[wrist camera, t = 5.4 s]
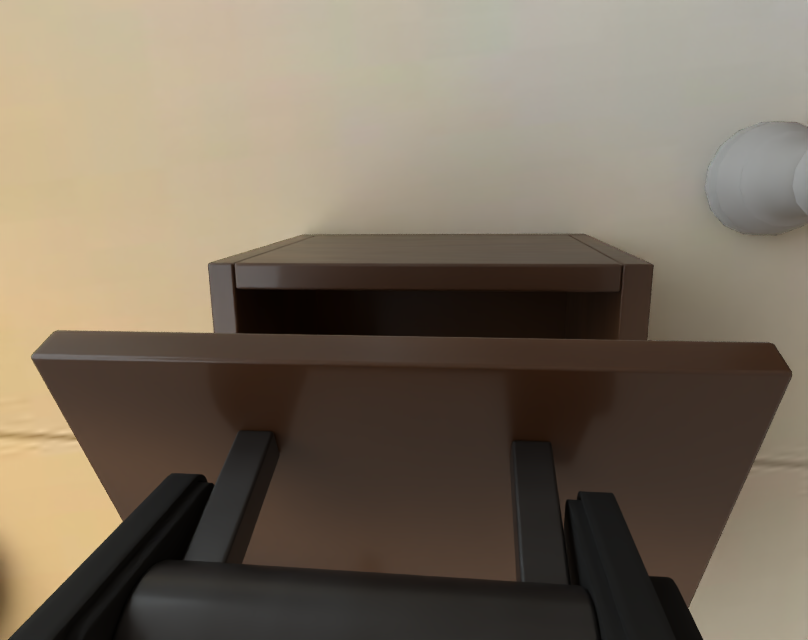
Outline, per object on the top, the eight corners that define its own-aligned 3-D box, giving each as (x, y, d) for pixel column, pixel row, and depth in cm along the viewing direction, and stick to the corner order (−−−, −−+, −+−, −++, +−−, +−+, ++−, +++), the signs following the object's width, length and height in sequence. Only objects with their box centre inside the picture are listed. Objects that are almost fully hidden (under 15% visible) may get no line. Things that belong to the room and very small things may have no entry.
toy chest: (301, 234, 27) (206, 263, 17) (585, 233, 25) (654, 264, 16) (317, 538, 30) (245, 701, 21) (567, 552, 29) (614, 735, 19)
